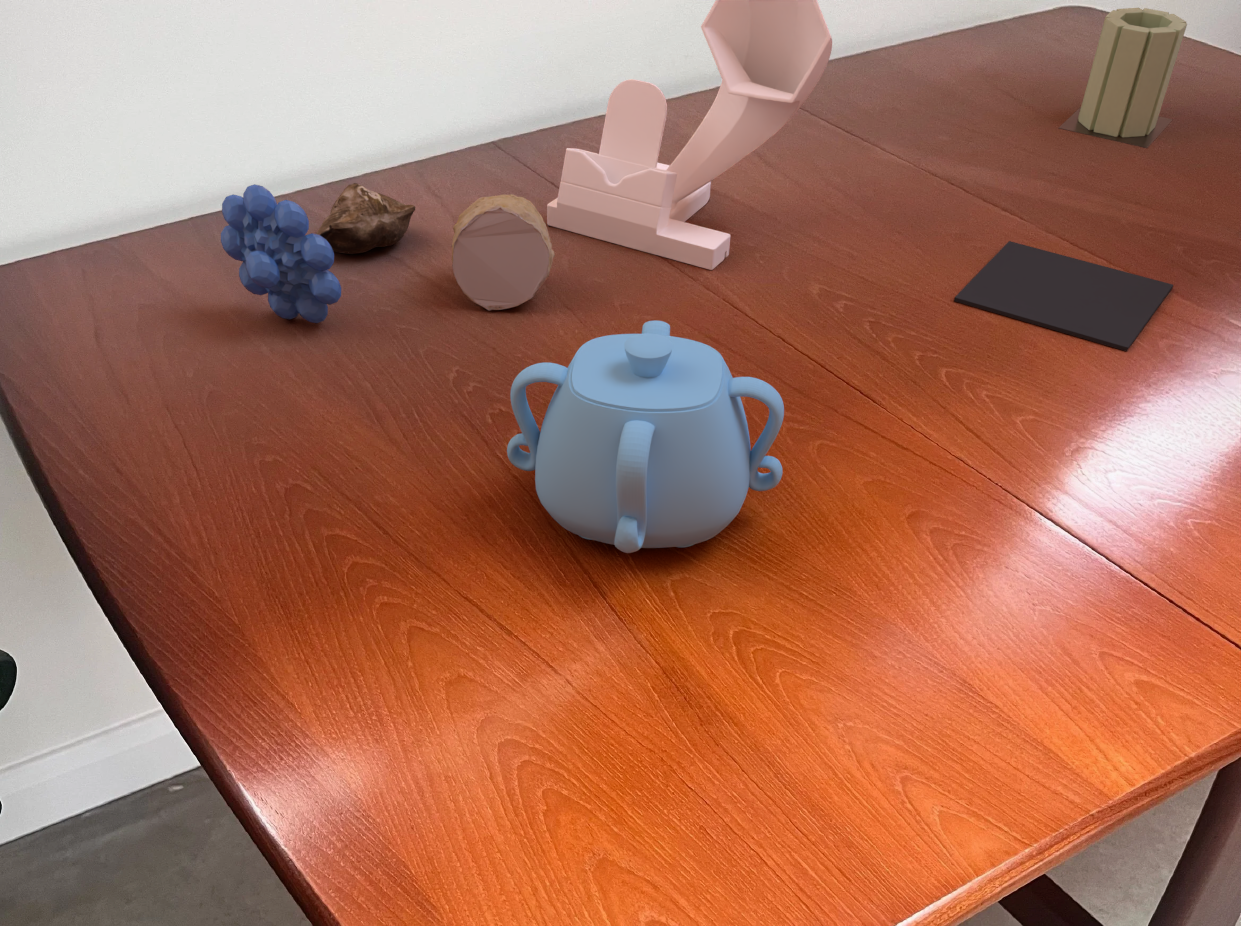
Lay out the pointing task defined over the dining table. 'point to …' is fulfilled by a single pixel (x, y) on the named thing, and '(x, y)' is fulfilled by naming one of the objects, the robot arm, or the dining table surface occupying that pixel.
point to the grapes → (280, 254)
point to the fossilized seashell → (364, 221)
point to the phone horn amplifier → (733, 128)
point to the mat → (1066, 295)
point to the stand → (1140, 141)
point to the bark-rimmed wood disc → (501, 251)
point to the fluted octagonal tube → (1131, 71)
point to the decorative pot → (645, 440)
